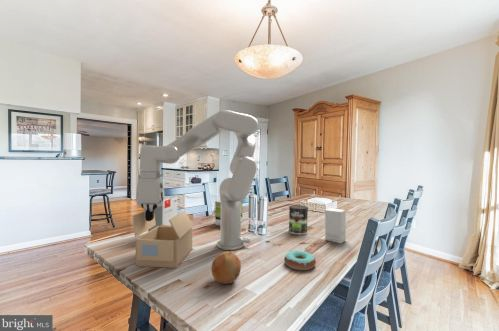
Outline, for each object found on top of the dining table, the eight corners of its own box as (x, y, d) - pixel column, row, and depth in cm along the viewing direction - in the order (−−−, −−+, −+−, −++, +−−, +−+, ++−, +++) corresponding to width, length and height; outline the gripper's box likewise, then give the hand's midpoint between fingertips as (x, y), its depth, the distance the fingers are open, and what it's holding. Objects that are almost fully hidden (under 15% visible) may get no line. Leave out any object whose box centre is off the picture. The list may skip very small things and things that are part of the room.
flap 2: (193, 226, 107) (184, 210, 107) (180, 238, 91) (169, 219, 91) (192, 226, 107) (183, 210, 107) (178, 238, 91) (168, 220, 91)
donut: (293, 256, 103) (293, 246, 103) (320, 264, 96) (321, 254, 95) (278, 265, 94) (278, 255, 94) (306, 275, 86) (307, 264, 86)
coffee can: (305, 235, 130) (306, 209, 129) (286, 233, 133) (287, 207, 133) (308, 230, 139) (309, 205, 139) (290, 228, 143) (291, 204, 142)
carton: (192, 248, 109) (193, 226, 109) (175, 269, 90) (175, 241, 89) (158, 247, 111) (158, 224, 110) (134, 266, 91) (134, 239, 91)
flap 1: (155, 225, 109) (153, 207, 108) (136, 236, 93) (133, 215, 93) (154, 225, 109) (152, 207, 109) (134, 236, 93) (132, 216, 93)
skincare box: (345, 240, 122) (346, 210, 122) (340, 244, 118) (341, 212, 117) (329, 236, 128) (330, 207, 128) (324, 240, 123) (324, 209, 123)
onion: (222, 272, 88) (222, 244, 87) (246, 279, 83) (246, 250, 82) (204, 284, 79) (205, 254, 79) (230, 293, 74) (230, 260, 74)
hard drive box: (162, 242, 117) (162, 201, 116) (147, 241, 118) (147, 200, 118) (177, 232, 132) (177, 196, 131) (165, 231, 134) (165, 195, 133)
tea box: (230, 219, 161) (230, 197, 160) (242, 222, 155) (243, 199, 154) (214, 224, 149) (214, 200, 148) (227, 227, 143) (227, 202, 142)
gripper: (171, 175, 103) (170, 218, 103) (137, 174, 104) (137, 217, 105) (163, 176, 95) (163, 223, 96) (127, 175, 97) (126, 221, 97)
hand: (149, 220), depth 100 cm, fingers closed
